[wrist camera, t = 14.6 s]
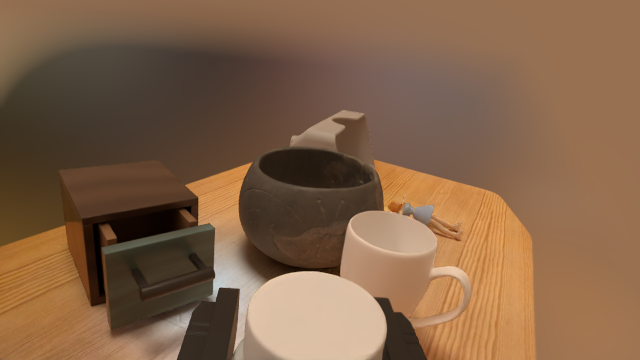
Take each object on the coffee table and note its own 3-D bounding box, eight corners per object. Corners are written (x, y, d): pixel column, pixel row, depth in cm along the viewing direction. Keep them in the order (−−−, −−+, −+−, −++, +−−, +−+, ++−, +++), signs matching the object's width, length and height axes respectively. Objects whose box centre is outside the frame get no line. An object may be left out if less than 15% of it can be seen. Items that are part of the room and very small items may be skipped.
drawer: (230, 317, 36) (234, 247, 33) (123, 360, 30) (117, 279, 27) (171, 242, 47) (171, 184, 44) (84, 264, 41) (76, 198, 38)
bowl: (400, 270, 49) (423, 181, 45) (284, 318, 38) (297, 206, 34) (318, 213, 62) (329, 138, 57) (213, 236, 51) (216, 147, 46)
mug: (315, 332, 37) (331, 230, 33) (352, 291, 44) (370, 202, 40) (435, 399, 32) (472, 287, 28) (456, 340, 38) (489, 244, 34)
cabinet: (197, 274, 43) (198, 197, 40) (91, 306, 36) (81, 218, 33) (159, 225, 52) (157, 159, 48) (67, 245, 45) (58, 169, 42)
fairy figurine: (470, 232, 54) (389, 205, 56) (457, 260, 56) (380, 232, 58) (463, 203, 65) (395, 181, 67) (453, 226, 66) (387, 204, 68)
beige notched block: (309, 155, 90) (316, 103, 86) (375, 170, 86) (385, 116, 82) (262, 190, 68) (268, 121, 63) (348, 212, 64) (360, 140, 59)
